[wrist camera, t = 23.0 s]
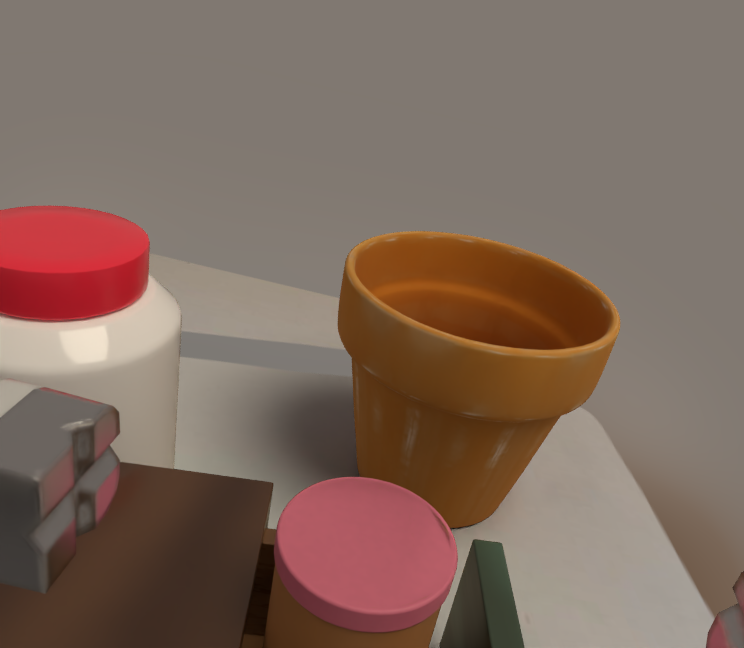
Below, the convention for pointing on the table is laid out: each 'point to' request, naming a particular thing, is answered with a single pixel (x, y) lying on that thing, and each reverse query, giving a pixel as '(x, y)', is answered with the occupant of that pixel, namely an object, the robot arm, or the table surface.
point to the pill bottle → (92, 320)
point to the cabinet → (152, 568)
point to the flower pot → (464, 362)
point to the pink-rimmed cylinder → (358, 568)
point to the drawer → (468, 613)
